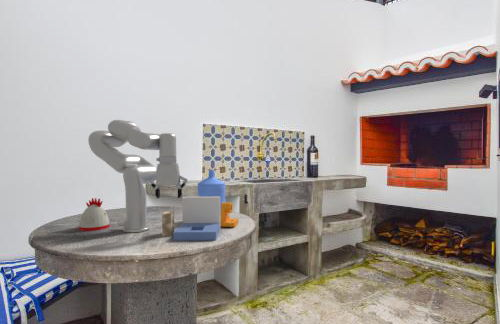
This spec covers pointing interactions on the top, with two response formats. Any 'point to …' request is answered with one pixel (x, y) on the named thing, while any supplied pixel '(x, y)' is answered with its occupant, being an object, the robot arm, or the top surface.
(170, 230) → the tan wooden pillar
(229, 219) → the bracket
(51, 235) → the top surface
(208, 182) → the water jug
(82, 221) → the cream red beanie hat
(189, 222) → the blue base grey panel
